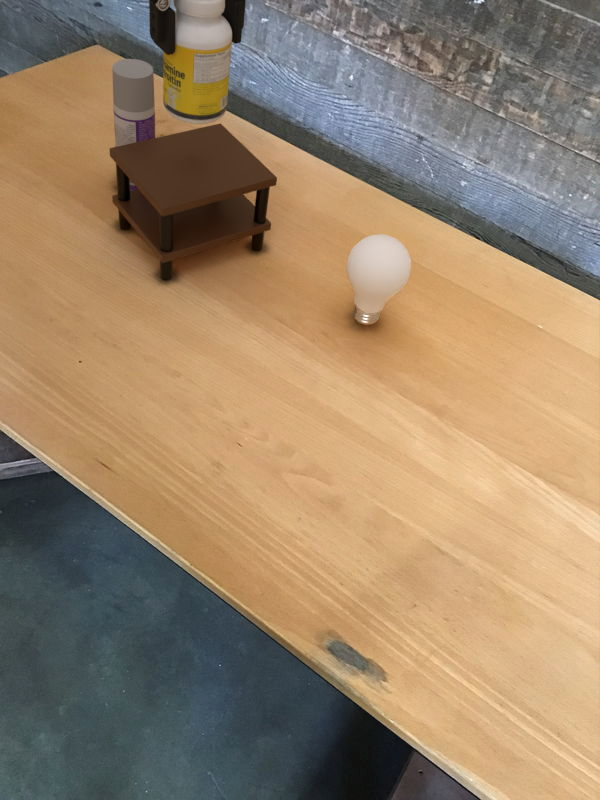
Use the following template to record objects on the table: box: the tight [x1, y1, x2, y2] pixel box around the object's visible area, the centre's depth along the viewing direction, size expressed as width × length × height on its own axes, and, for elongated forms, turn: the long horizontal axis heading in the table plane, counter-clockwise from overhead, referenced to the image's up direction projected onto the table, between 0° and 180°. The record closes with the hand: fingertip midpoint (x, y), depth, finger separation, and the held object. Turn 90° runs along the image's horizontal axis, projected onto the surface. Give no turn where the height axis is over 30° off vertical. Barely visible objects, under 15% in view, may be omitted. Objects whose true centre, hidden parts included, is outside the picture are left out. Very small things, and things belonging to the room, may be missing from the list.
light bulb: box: [346, 233, 412, 326], centre depth 80 cm, size 7×7×11 cm
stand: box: [109, 123, 278, 282], centre depth 86 cm, size 14×12×10 cm
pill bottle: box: [162, 0, 233, 125], centre depth 73 cm, size 6×6×12 cm
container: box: [111, 58, 156, 191], centre depth 89 cm, size 5×5×15 cm
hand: (197, 41), depth 72 cm, fingers closed on pill bottle, 6 cm apart
